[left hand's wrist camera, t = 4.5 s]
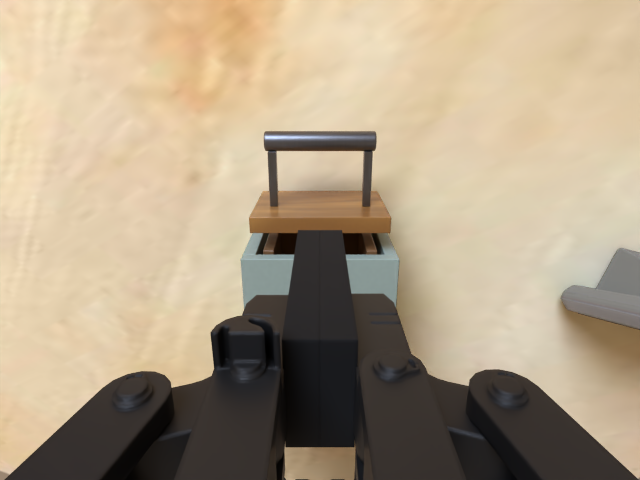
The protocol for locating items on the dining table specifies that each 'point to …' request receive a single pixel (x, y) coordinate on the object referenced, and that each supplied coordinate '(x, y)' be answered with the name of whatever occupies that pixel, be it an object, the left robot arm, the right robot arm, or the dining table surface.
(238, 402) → the left robot arm
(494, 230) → the dining table surface
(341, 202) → the drawer
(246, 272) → the sage green storage bin
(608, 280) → the digital clock
